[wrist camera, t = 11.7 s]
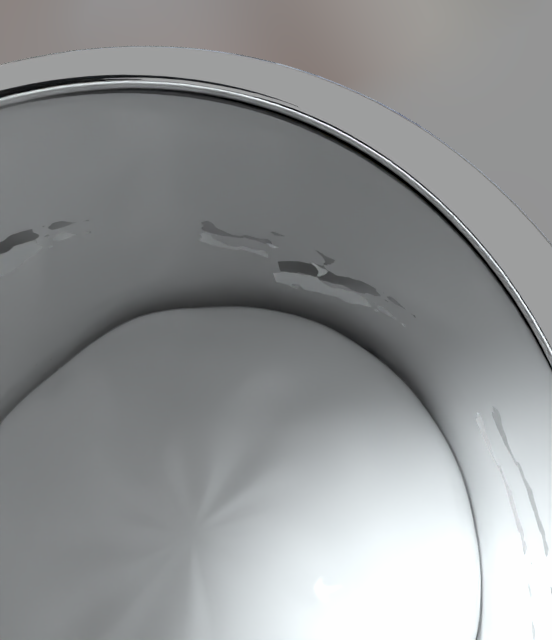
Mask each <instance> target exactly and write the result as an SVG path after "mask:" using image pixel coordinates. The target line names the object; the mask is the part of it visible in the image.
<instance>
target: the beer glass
mask: <svg viewBox="0 0 552 640" xmlns="http://www.w3.org/2000/svg"><path fill="white" fill-rule="evenodd" d="M0 640H552V244H551V243H550V241H549V240H548V239H547V238H546V237H545V235H544V234H543V233H542V232H541V231H540V229H539V228H538V227H537V226H536V225H535V224H534V223H533V221H531V219H530V218H529V217H528V216H527V215H526V214H525V213H524V212H523V211H522V210H521V209H520V208H519V207H518V206H517V205H516V203H514V202H513V201H512V200H511V199H510V198H509V197H508V196H507V195H506V194H505V193H504V192H503V191H502V190H501V189H500V188H499V187H498V186H497V185H496V184H495V183H494V182H493V181H491V180H490V179H489V178H488V177H487V176H486V175H485V174H483V173H482V172H481V171H480V170H479V169H478V168H477V167H475V166H474V165H473V164H471V163H470V162H469V161H468V160H467V159H465V158H464V157H463V156H461V155H460V154H459V153H458V152H456V151H455V150H454V149H452V148H451V147H450V146H448V145H447V144H445V143H444V142H443V141H442V140H440V139H439V138H437V137H436V136H434V135H433V134H432V133H430V132H429V131H427V130H426V129H424V128H423V127H421V126H420V125H418V124H416V123H415V122H413V121H411V120H410V119H408V118H406V117H405V116H403V115H401V114H400V113H398V112H396V111H394V110H393V109H390V108H389V107H387V106H385V105H383V104H381V103H379V102H378V101H376V100H373V99H372V98H369V97H367V96H365V95H363V94H361V93H359V92H357V91H354V90H352V89H350V88H347V87H345V86H343V85H340V84H338V83H335V82H333V81H330V80H328V79H325V78H322V77H320V76H318V75H315V74H312V73H309V72H306V71H302V70H300V69H296V68H293V67H289V66H286V65H282V64H279V63H275V62H271V61H267V60H263V59H258V58H254V57H249V56H244V55H239V54H233V53H226V52H220V51H213V50H205V49H196V48H184V47H166V46H165V47H164V46H123V47H104V48H91V49H83V50H73V51H67V52H60V53H53V54H48V55H42V56H36V57H31V58H27V59H22V60H17V61H13V62H9V63H5V64H1V65H0Z"/></svg>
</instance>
